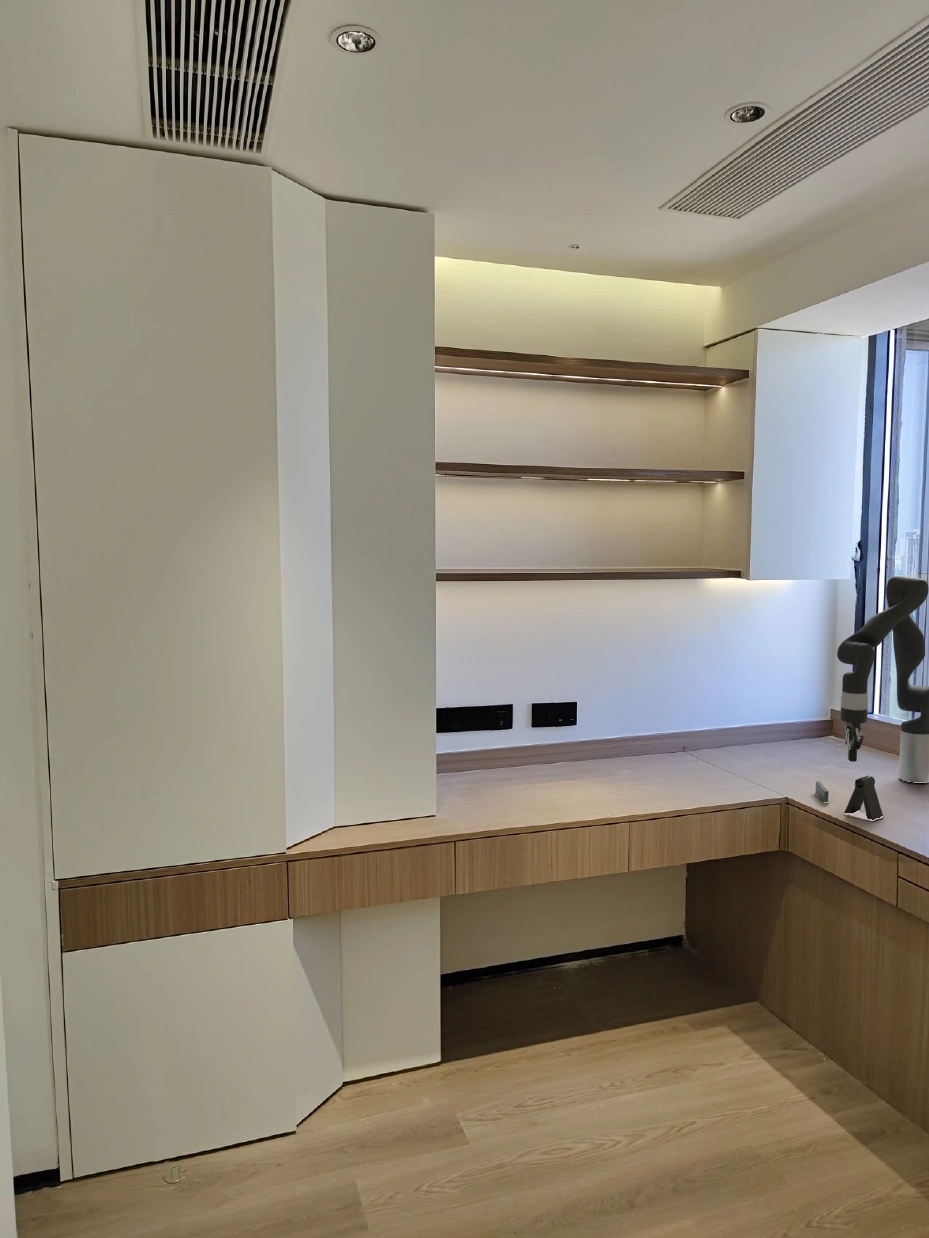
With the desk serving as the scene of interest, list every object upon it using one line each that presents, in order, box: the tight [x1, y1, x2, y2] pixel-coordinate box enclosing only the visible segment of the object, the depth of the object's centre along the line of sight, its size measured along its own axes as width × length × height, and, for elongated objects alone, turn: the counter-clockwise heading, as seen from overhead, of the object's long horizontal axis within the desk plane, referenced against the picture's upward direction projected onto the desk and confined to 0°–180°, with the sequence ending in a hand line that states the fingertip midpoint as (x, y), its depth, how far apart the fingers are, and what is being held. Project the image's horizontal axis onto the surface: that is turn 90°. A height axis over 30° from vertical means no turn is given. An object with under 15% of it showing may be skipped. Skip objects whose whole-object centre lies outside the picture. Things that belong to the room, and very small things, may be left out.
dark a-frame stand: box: [843, 775, 884, 820], centre depth 246 cm, size 9×6×12 cm, turn 35°
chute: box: [815, 780, 829, 803], centre depth 263 cm, size 11×15×4 cm
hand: (852, 760), depth 256 cm, fingers closed
